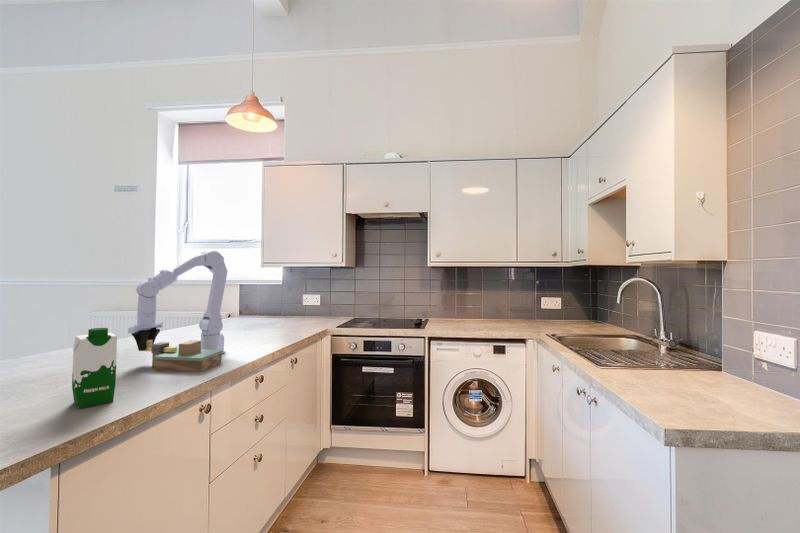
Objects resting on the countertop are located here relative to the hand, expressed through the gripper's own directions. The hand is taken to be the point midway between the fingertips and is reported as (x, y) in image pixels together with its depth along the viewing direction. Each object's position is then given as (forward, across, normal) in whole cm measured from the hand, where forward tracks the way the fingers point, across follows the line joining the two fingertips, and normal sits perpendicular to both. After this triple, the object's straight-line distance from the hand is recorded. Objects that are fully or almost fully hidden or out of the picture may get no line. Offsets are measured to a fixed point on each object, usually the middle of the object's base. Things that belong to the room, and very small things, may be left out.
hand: (145, 349), depth 134 cm
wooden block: (0, 0, +5) cm, 5 cm away
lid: (+2, 0, +17) cm, 17 cm away
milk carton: (+6, +37, +15) cm, 40 cm away
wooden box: (+6, 0, +15) cm, 16 cm away
